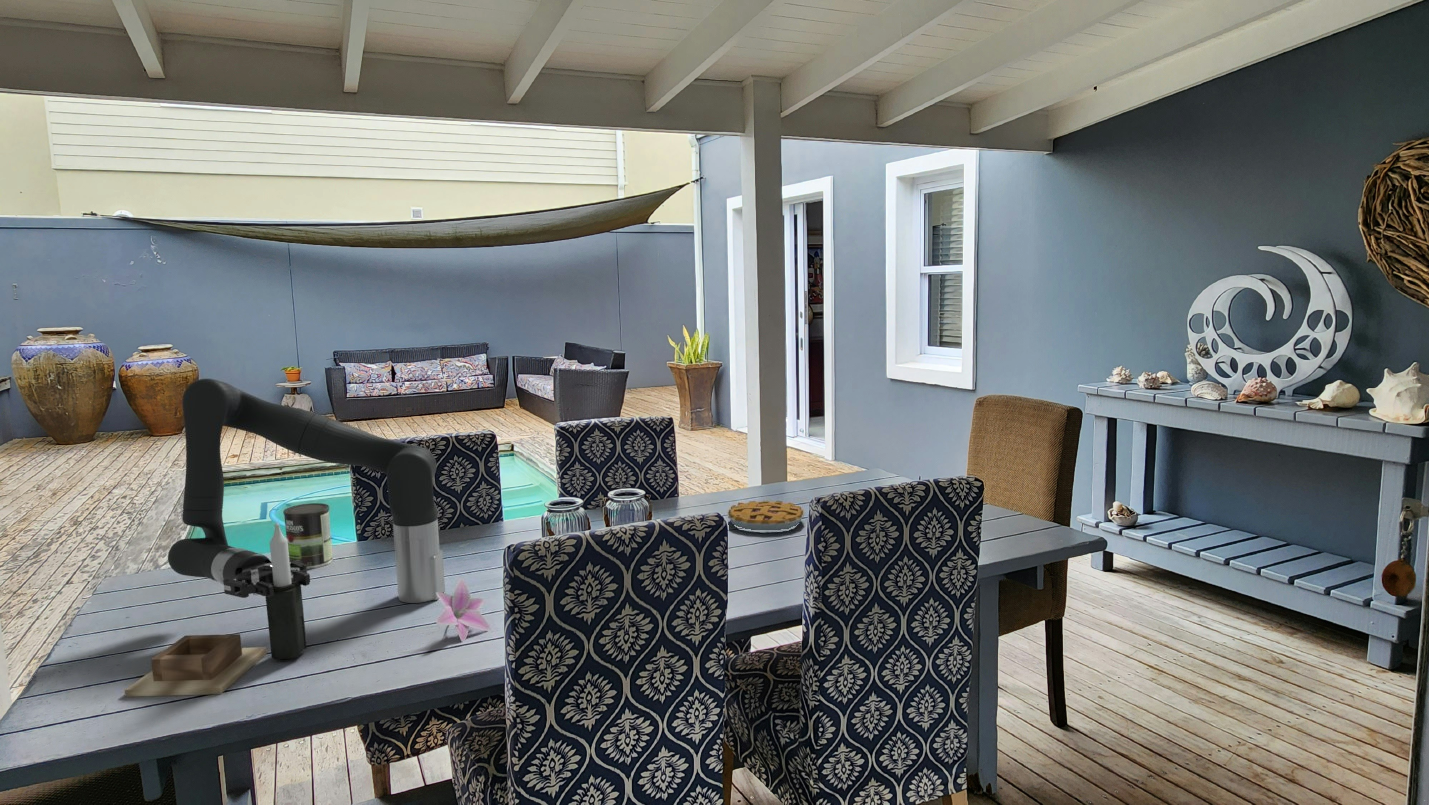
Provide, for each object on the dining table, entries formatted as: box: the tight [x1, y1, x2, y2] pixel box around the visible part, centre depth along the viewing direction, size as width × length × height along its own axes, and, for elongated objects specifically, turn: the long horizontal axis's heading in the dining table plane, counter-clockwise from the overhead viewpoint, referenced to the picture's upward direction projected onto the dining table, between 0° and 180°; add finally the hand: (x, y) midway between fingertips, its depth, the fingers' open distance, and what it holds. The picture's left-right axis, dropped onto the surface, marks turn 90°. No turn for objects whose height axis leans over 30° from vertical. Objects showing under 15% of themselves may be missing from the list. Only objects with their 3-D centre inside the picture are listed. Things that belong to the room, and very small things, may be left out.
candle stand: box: [124, 633, 268, 698], centre depth 153 cm, size 16×16×5 cm
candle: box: [264, 522, 308, 660], centre depth 157 cm, size 5×5×25 cm
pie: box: [726, 500, 805, 530], centre depth 240 cm, size 22×22×5 cm
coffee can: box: [283, 502, 334, 570], centre depth 212 cm, size 10×10×14 cm
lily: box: [435, 577, 491, 643], centre depth 169 cm, size 12×12×10 cm
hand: (289, 585), depth 156 cm, fingers closed on candle, 6 cm apart
